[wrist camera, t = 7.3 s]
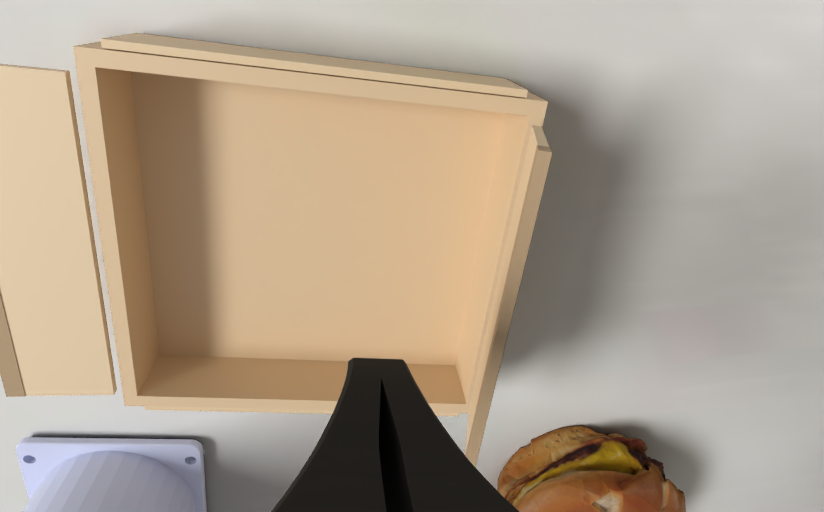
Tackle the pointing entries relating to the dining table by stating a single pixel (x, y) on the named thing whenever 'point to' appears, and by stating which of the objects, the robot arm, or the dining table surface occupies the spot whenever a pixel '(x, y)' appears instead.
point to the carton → (296, 219)
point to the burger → (587, 475)
